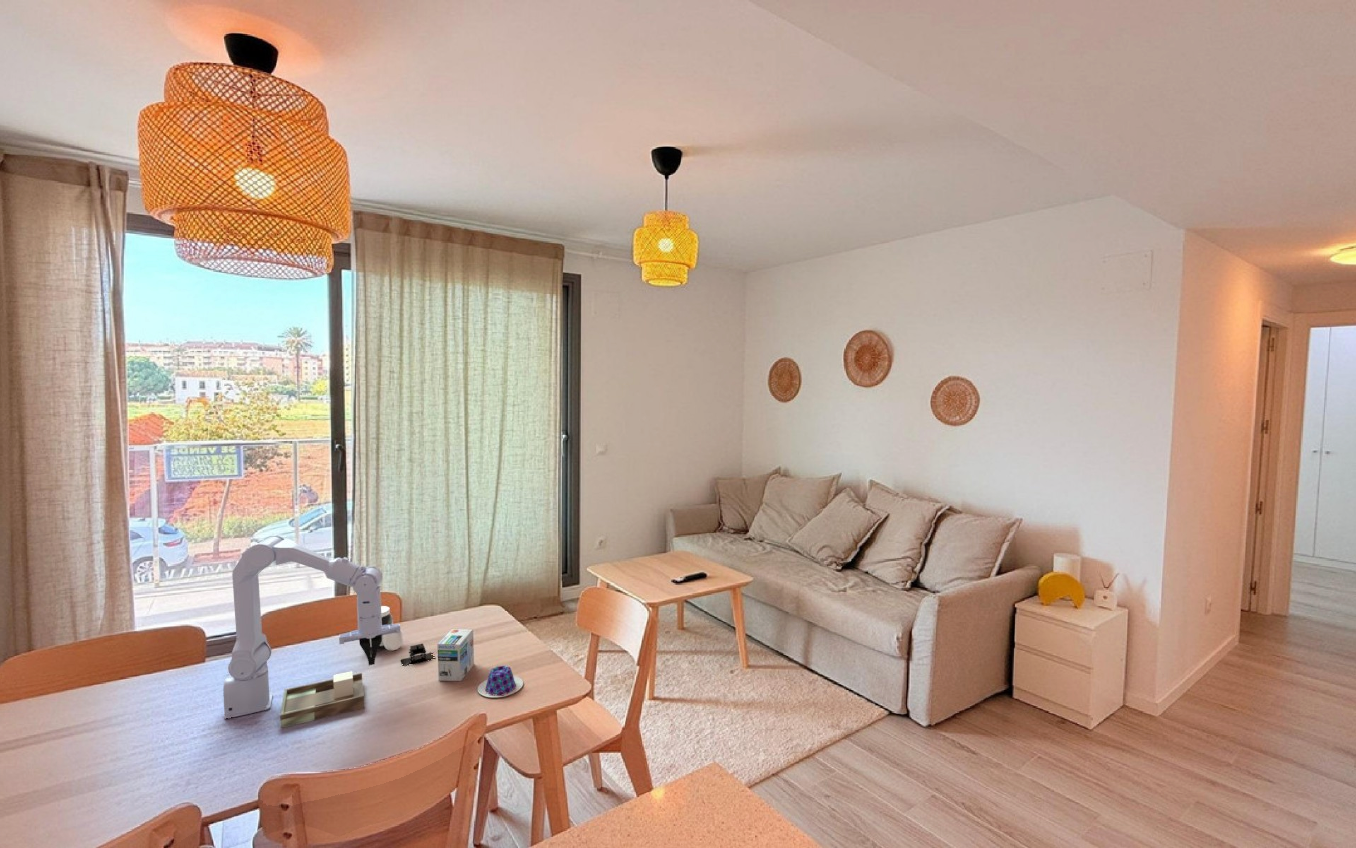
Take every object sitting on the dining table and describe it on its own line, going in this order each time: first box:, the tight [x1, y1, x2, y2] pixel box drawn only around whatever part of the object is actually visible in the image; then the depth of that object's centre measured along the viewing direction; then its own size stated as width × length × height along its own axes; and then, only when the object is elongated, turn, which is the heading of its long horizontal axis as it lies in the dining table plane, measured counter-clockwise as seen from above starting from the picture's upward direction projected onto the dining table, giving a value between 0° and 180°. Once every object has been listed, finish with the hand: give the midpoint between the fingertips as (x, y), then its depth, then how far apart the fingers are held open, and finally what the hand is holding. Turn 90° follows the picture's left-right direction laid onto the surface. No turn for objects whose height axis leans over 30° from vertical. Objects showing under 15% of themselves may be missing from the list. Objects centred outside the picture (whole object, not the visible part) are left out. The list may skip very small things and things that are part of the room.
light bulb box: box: [437, 628, 475, 682], centre depth 172 cm, size 11×7×11 cm, turn 179°
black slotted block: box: [399, 643, 436, 667], centre depth 180 cm, size 12×7×5 cm, turn 121°
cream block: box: [332, 670, 354, 699], centre depth 157 cm, size 4×4×4 cm
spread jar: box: [370, 605, 404, 652], centre depth 189 cm, size 12×11×12 cm
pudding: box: [477, 665, 524, 698], centre depth 164 cm, size 12×12×5 cm
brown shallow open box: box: [279, 672, 365, 729], centre depth 155 cm, size 18×14×3 cm
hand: (371, 663), depth 160 cm, fingers closed
